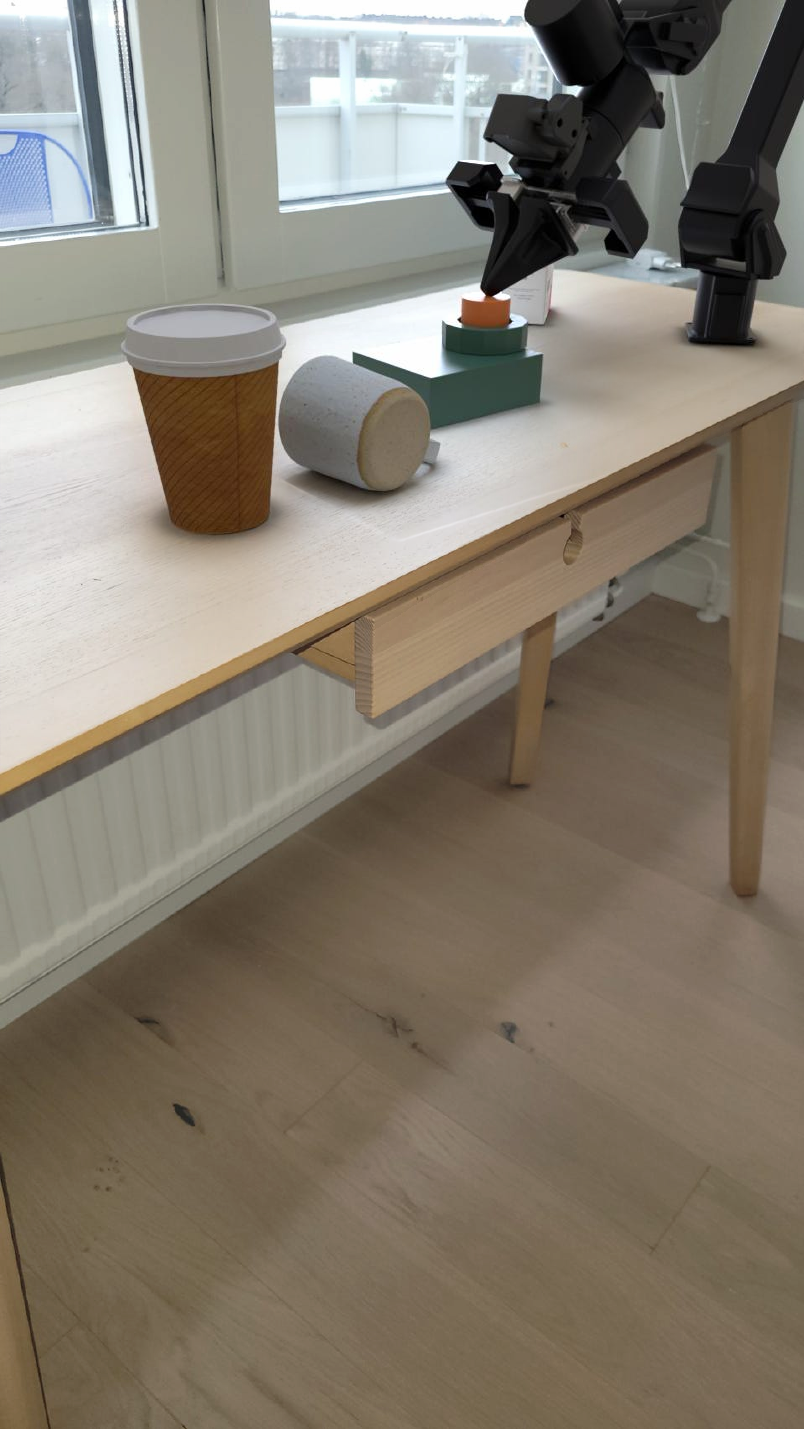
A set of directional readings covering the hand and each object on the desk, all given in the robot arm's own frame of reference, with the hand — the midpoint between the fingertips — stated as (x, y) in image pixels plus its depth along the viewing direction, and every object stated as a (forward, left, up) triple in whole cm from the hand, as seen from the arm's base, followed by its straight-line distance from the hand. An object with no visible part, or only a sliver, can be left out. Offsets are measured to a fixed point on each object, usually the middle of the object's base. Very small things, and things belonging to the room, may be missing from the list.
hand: (485, 292), depth 87 cm
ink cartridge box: (-30, +2, -8) cm, 31 cm away
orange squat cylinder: (0, 0, -3) cm, 3 cm away
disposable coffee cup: (+30, -14, -8) cm, 34 cm away
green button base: (+3, -3, -8) cm, 9 cm away
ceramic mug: (+21, -6, -8) cm, 23 cm away
